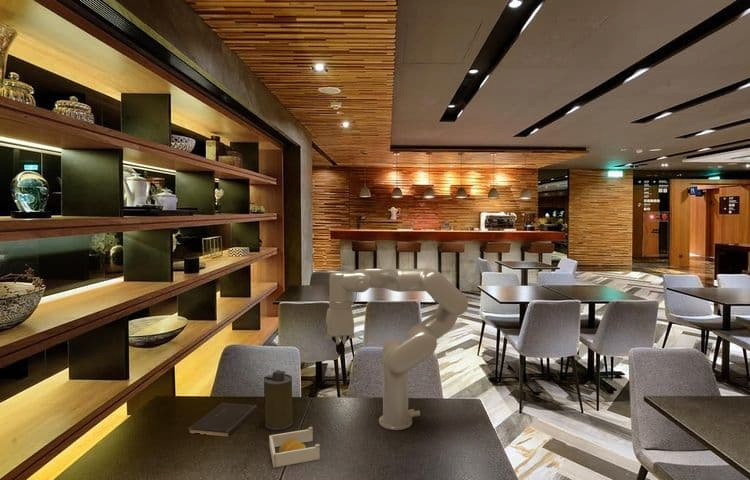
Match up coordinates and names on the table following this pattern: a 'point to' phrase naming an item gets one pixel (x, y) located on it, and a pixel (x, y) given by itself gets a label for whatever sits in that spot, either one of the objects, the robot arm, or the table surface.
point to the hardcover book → (224, 419)
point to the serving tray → (293, 455)
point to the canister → (278, 400)
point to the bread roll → (291, 445)
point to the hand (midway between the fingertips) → (340, 353)
